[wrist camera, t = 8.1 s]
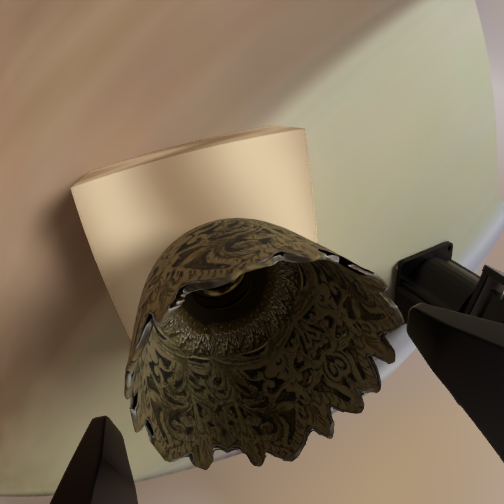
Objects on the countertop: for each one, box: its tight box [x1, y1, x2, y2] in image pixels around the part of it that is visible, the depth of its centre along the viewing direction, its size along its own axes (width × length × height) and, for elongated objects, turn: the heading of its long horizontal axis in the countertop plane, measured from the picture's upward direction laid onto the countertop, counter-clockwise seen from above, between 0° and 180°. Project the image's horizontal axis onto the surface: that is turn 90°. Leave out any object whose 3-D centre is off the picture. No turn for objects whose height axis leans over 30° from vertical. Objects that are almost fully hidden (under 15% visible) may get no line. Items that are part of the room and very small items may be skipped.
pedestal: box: [71, 126, 318, 340], centre depth 16 cm, size 10×10×4 cm
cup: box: [124, 218, 404, 470], centre depth 11 cm, size 8×7×8 cm
